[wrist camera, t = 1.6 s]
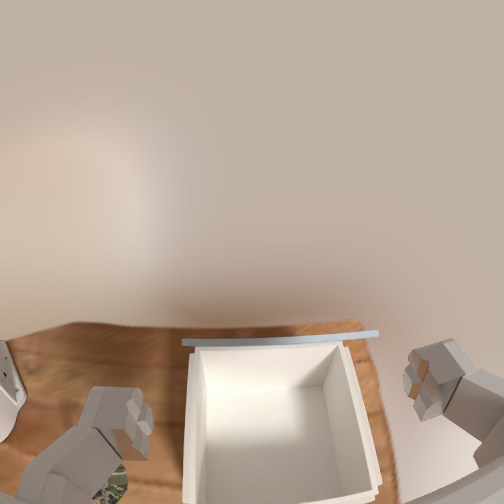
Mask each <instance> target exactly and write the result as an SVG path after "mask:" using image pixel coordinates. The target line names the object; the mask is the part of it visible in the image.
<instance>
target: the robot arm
mask: <svg viewBox="0 0 504 504" xmlns="http://www.w3.org/2000/svg"><path fill="white" fill-rule="evenodd" d="M408 361H409V362H410V364H409V365H408V366H407V367H406V368H405V370H404V374H403V385H404V388H405V391H406V393H407V395H408V397H411V398H412V399H414V400H415V401H414V405H413V406H414V409H415V411H416V413H417V415H418V416H419V419H420V421H421V422H422V421H425V420H427V419H431V418H433V417H436V416H439V415H442V414H443V416H445V417H446V418H448V419H449V420H450V421H452V422H453V423H455V424H456V425H458V426H459V427H460V428H462V429H463V430H465V431H466V432H468V433H469V434H471V435H472V436H474V437H475V438H477V439H478V440H479V441H481V442H482V444H481V445H480V446H479V447H478V449H477V450H476V451H475V453H474V455H473V457H474V459H475V461H476V463H477V465H478V467H479V469H478V470H476V471H474V472H473V473H471V474H469V475H467V476H465V477H463V478H461V479H459V480H457V481H455V482H453V483H451V484H449V485H447V486H445V487H443V488H441V489H438V490H436V491H434V492H432V493H429V494H427V495H424V496H422V497H419V498H417V499H414V500H412V501H410V502H407V503H404V504H504V379H502V378H500V377H498V376H496V375H493V374H491V373H489V372H487V371H485V370H482V369H480V370H477V368H476V367H475V366H474V364H473V363H472V362H471V360H470V359H469V358H468V356H467V355H466V354H465V352H464V351H463V350H462V349H461V348H460V346H459V345H458V344H457V342H456V341H455V340H454V339H452V338H451V339H448V340H445V341H441V342H438V343H434V344H431V345H428V346H424V347H421V348H418V349H414V350H412V351H411V352H410V354H409V357H408ZM18 390H19V391H18ZM17 391H18V392H17ZM143 396H144V395H143V393H142V391H141V389H140V388H131V387H105V386H94V387H93V388H92V389H91V390H90V392H89V395H88V398H87V400H86V403H85V406H84V408H83V411H82V414H81V417H80V419H79V422H78V425H77V426H72V427H71V428H70V429H69V430H68V431H67V432H65V433H64V434H63V435H62V436H61V437H59V438H58V439H57V440H56V441H55V442H53V443H52V444H51V445H50V446H49V447H47V448H46V449H45V450H44V451H43V452H42V453H40V454H39V455H38V456H37V457H36V458H34V459H33V460H32V461H31V462H29V463H28V464H27V465H26V468H25V470H24V473H23V476H22V479H21V482H20V485H19V488H18V491H17V495H16V498H13V497H11V496H9V495H6V494H4V493H2V492H0V504H97V503H96V502H94V501H93V500H92V498H93V497H94V495H95V494H96V493H97V492H98V491H99V489H100V488H101V487H102V486H103V485H104V483H105V482H106V481H107V480H108V479H109V477H110V476H111V475H112V474H113V473H114V471H115V470H116V469H117V468H118V467H119V465H120V464H121V463H122V462H123V460H135V461H148V455H149V449H150V442H149V441H148V439H147V437H148V436H149V435H150V434H151V433H152V430H153V414H152V411H151V408H150V406H149V404H147V403H146V402H144V401H143ZM26 398H27V393H26V391H25V389H24V387H23V384H22V382H21V380H20V377H19V375H18V372H17V370H16V367H15V365H14V362H13V359H12V357H11V354H10V351H9V348H8V346H7V344H6V343H5V341H3V340H0V442H2V441H3V440H4V439H5V438H6V437H7V436H8V435H9V433H10V432H11V430H12V428H13V426H14V424H15V421H16V418H17V414H18V411H19V409H20V408H21V407H22V405H23V404H24V402H25V401H26Z"/></svg>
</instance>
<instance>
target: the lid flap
mask: <svg viewBox="0 0 504 504" xmlns="http://www.w3.org/2000/svg"><path fill="white" fill-rule="evenodd" d="M377 336H379V330H372V331H362V332H351V333H340V334H327V335H313V336H297V337H276V338H245V339H182V346H263V345H286V344H304V343H318V342H331V341H342V340H352V339H361V338H369V337H377Z"/></svg>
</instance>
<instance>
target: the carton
mask: <svg viewBox="0 0 504 504" xmlns="http://www.w3.org/2000/svg"><path fill="white" fill-rule="evenodd" d="M381 484H383V483H382V479H381V474H380V469H379V465H378V460H377V456H376V451H375V447H374V443H373V439H372V434H371V430H370V426H369V422H368V418H367V414H366V410H365V406H364V402H363V399H362V395H361V391H360V387H359V384H358V380H357V376H356V373H355V369H354V366H353V362H352V359H351V355H350V352H349V348H348V347H343V344H342V341H335V342H322V343H308V344H292V345H272V346H238V347H195V353H190V356H189V369H188V383H187V398H186V415H185V435H184V460H183V503H184V504H365V503H368V502H371V501H373V500H375V496H374V495H377V494H379V492H378V487H377V486H379V485H381Z"/></svg>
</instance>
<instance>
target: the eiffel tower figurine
mask: <svg viewBox="0 0 504 504" xmlns="http://www.w3.org/2000/svg"><path fill="white" fill-rule="evenodd" d="M37 456H38V455H37ZM127 485H128V479H127V476H126V470H125V468H124V466H123V465H122V463H121V464H120V465H119V467H118V468H117V469H116V470H115V471H114V473H113V474H112V475H111V476H110V477H109V479H108V480H107V481H106V482H105V483H104V485H103V486H102V487H101V488H100V489H99V491H98V492H97V493H96V494H95V495H94V497H93V498H92V499H100V502H101V504H116V503H117V502H118V501H119V499H120V498H121V497H122V496H123V494H124V493H125V492H126V491H127Z"/></svg>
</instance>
